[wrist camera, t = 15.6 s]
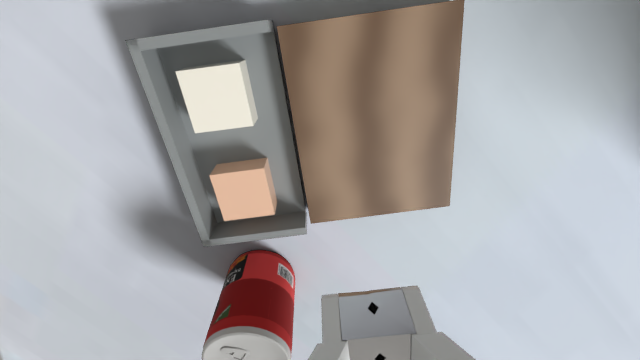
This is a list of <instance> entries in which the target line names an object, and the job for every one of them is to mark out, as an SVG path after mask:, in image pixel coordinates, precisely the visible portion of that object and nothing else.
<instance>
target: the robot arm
mask: <svg viewBox="0 0 640 360" xmlns="http://www.w3.org/2000/svg"><path fill="white" fill-rule="evenodd" d="M321 306H322V343H320V344H317V345H316V347H315V349H314V350H313V352H312V354H311V355H310V357H309V358H308V360H476V359H474V358H473V357H472V356H471V355H469V354H468V353H467V352H466V351H465V350H463V349H462V348H461V347H460V346H459V345H457V344H456V343H455V342H454V341H452V340H451V339H450V338H449V337H448V336H446V335H445V334H444V333H443V332H437V331H436V329H435V326H434V324H433V321H432V319H431V316H430V314H429V311H428V309H427V306H426V304H425V301H424V299H423V296H422V294H421V291H420V289H419V287H418V286H408V287H401V288H400V287H397V288H388V289H380V290H371V291H365V292H351V293H338V294H328V295H322V299H321Z"/></svg>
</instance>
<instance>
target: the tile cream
mask: <svg viewBox="0 0 640 360" xmlns="http://www.w3.org/2000/svg"><path fill="white" fill-rule="evenodd" d="M175 72H176V75H177V78H178V82H179V85H180V88H181V91H182V94H183V97H184V100H185V104H186V107H187V110H188V113H189V116H190V119H191V122H192V126H193V129H194V132H195V133H202V132H210V131H218V130H226V129H234V128H241V127H249V126H254V124H255V122H256V121H257V119H258V116H257V111H256V107H255V102H254V97H253V93H252V88H251V84H250V79H249V74H248V70H247V65H246V60H240V61H232V62H225V63H217V64H210V65H202V66H195V67H187V68H184V69H181V70H178V71H175Z"/></svg>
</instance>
